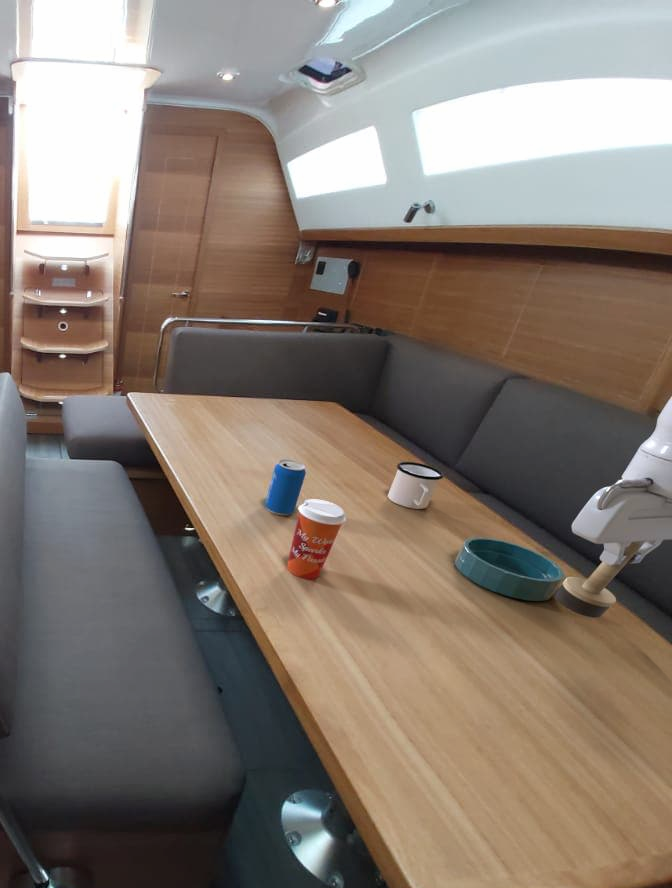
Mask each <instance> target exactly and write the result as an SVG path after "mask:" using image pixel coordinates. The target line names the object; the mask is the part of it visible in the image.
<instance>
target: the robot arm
mask: <svg viewBox="0 0 672 888" xmlns="http://www.w3.org/2000/svg"><path fill="white" fill-rule="evenodd" d="M571 532H572V533H573V534H574V535H575V536H579V537H581V538H582V539H584V540H587V541H589V542H592V543H593V544H596V545H603V551H602V553H601V554H600V556H599V561H601V562H605V563H607V564H609V565H619V564H622V562H623V560H624V559H625V558H626V556H627V555H624V550H625V547H628V546H630V544H631V543H632V542H637V541H646V542H645V543H644V544H643V545H642V547H641V548H640V549H639V550H638V551H637V552H636V553H635V554H634V555H633V557H632V558H631V559H630V560H629V561H628V562H627V563H626V564H629V565H630V564H639V563H641V562H642V560H643V559H644V558H645V556H646V555H648V554H649V553H650V552H652V551H653V550H656V548H657V547H659V546H660V545H661V544H662V542H663V541H665V540H667V541H669V540H672V395H671V396H670V398H669V399H668V400H667V402H666V404H665V406H664V407H663V408H662V410H661V412H660V413H659V415H658V417H657V420H656V426H655V428H654V431H653V432H652V434H651V435H650V437H648V438H647V439H646V440H645V441H644V442H643V443H641V445H640V446H639V447H638V449H637V451H636V453H635V454H634V456H633V457H632V459H631V461H630V462H629V464H628V465H627V467H626V469H625V470H624V472H623V473H622V475H621V479H618V480H617V481H616V482H615V483H614V484H612V485H610V486H606V487H602V488H600V489H599V490H597V491H596V492H594V494H593V495H592V496H591V497H590V499H589V500H588V501H587V502H586V504H585V505H584V506H583V508H582V509H581V510H580V512H579V513H578V515H577V516H576V517H575V519H574V520H573V521H572V523H571Z"/></svg>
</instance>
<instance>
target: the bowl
mask: <svg viewBox="0 0 672 888" xmlns="http://www.w3.org/2000/svg"><path fill="white" fill-rule="evenodd" d="M454 565H455V566H456V569H457V570H458V572H460V573H461V574H463V575H464V576H465V577H466V578H467V579H469V580H471V582H474V583H476V585H479V586H480V587H482V588H484V589H486V590H489V591H491V592H493V593H496V594H498V595H502V596H506V597H509V598H513V599H516V600H517V599H518V600H523V601H530V602H531V601H532V602H543V601H547V600H550V599H551V598H552V597H553V595H554V594H555V593H556V591H557V590H558V589H559V588H558V587H560V584H561V583H562V581H564V578H565V573H564V570H563V569H562V568H561V567H560V566H559V565H558V564H557V563H556V562H554V560H551V559H550V558H548V557H547V556H545V555H543V554H541V553H538V552H537V551H535V550H532V549H530V548H528V547H524V546H522V545H519V544H516V543H512V542H509V541H505V540H503V539H502V540H501V539H495V538H491V537H479V536H478V537H477V536H476V537H470V538H467V539H466V540H465V541H463V543H462V545H461V547H460V549H459V552H458V553H457V556H456V558H455V560H454Z"/></svg>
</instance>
